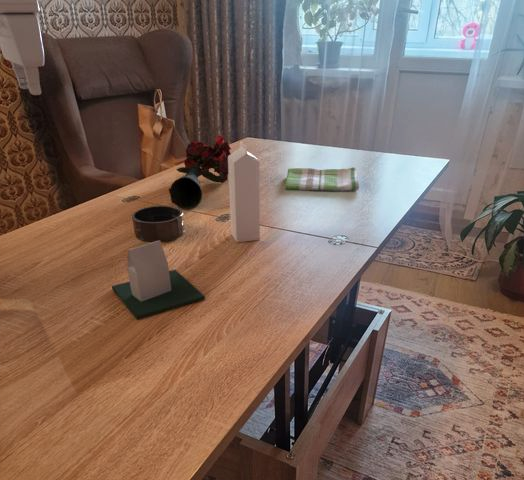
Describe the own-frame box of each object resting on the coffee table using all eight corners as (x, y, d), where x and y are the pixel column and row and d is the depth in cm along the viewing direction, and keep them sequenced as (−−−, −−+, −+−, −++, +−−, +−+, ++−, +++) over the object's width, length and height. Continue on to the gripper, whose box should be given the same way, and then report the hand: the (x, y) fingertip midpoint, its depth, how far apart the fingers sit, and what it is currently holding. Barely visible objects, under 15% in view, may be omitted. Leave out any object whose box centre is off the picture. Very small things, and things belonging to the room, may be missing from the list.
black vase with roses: (194, 235, 141) (206, 191, 169) (241, 194, 134) (244, 155, 161) (154, 195, 134) (172, 156, 161) (200, 150, 126) (211, 117, 154)
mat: (136, 319, 88) (136, 316, 88) (112, 289, 98) (111, 285, 98) (204, 299, 95) (204, 295, 94) (175, 272, 104) (175, 269, 104)
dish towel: (358, 192, 149) (360, 181, 147) (284, 190, 151) (285, 179, 149) (355, 177, 163) (356, 166, 161) (287, 175, 165) (288, 164, 163)
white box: (171, 290, 96) (165, 243, 90) (141, 301, 92) (133, 253, 86) (161, 284, 98) (155, 237, 92) (132, 294, 95) (123, 247, 89)
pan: (145, 246, 116) (142, 226, 113) (128, 230, 124) (124, 211, 121) (192, 235, 121) (190, 216, 118) (172, 221, 130) (170, 202, 127)
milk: (236, 243, 117) (232, 147, 105) (230, 233, 122) (226, 141, 109) (260, 240, 119) (259, 145, 106) (253, 231, 124) (252, 139, 111)
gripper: (-21, 1, 88) (3, 86, 96) (-3, -1, 74) (23, 99, 82) (16, 1, 91) (36, 84, 99) (40, -1, 76) (61, 96, 85)
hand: (30, 91), depth 90 cm, fingers open, 8 cm apart
